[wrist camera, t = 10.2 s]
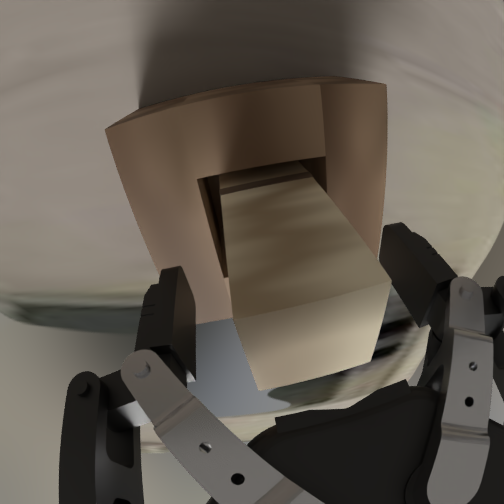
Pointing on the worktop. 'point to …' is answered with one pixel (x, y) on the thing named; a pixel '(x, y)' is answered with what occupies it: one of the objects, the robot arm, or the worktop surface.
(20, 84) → the worktop surface
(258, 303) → the birch peg
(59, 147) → the worktop surface
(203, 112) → the walnut block
